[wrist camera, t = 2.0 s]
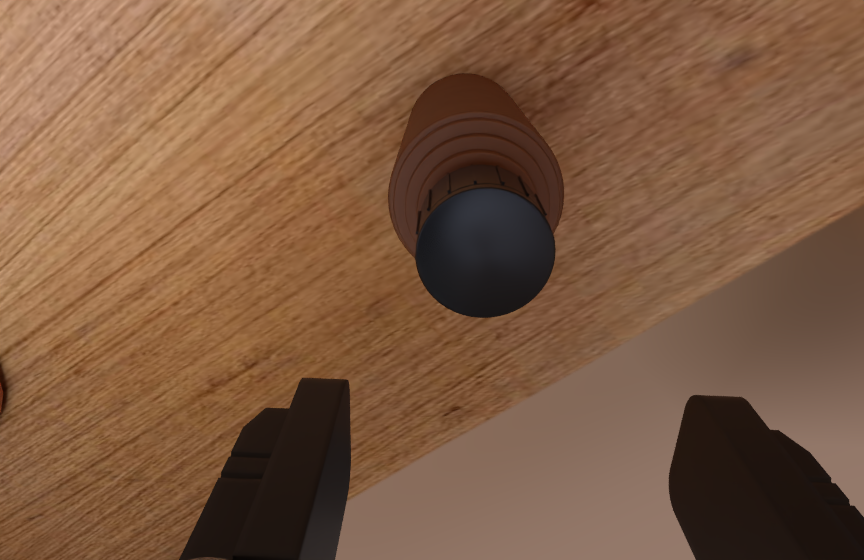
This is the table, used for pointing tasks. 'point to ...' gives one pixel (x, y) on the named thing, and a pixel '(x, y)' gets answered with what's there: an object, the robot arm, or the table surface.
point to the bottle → (468, 148)
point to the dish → (1, 397)
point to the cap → (483, 242)
